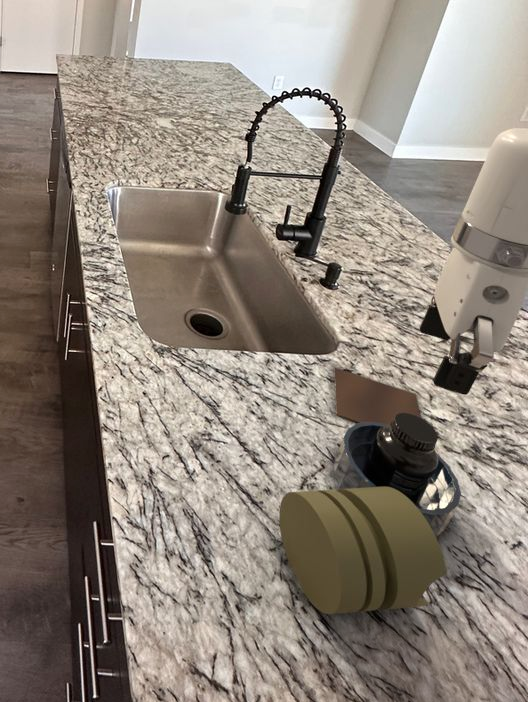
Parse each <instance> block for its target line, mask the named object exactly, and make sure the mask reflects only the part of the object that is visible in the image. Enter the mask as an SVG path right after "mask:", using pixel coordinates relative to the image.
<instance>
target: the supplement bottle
mask: <svg viewBox="0 0 528 702" xmlns="http://www.w3.org/2000/svg"><path fill="white" fill-rule="evenodd" d="M438 441H439V435H438V433H437V431H436V429H435V428H434V426H433V425H431V424H430V423H429V422H428V421H427V420H425V419H424V418H422V417H421V416H420V417H418V416H416V415H413V414H410V413H399V414H397V415H395V417H394V419H393V421H392V422H391V424H390V425H386V426H383V427H382V428H380V429H379V431H378V433H377V435H376V437H375V440H374V442H373V444H372V447H371V449H370V452H369V454H368V457H367V459H366V462H365V464H364V467H363V469H362V473H363V474H364V476H365V477H366V478H367V479H369V480H370V481H371V482H372V483H373V484H374V485H375V486H377V487H384V486H385V487H391V488H394V489H396V490H398V491H399V492H401V493H402V494H404V495H405V496H406V497H407V498H409V499H410V500H411V501H412V502H413V503H414V504H415V506H416V507H417V506H418V504H419V503H420V501H421V499H422V497H423V495H424V493H425V490H426V488H427V486H428V484H429V482H430V480H431V478H432V476H433V474H434V472H435V470H436V468H437V465H438V456H437V454H438V452H437V451H436V445H437V443H438Z"/></svg>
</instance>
